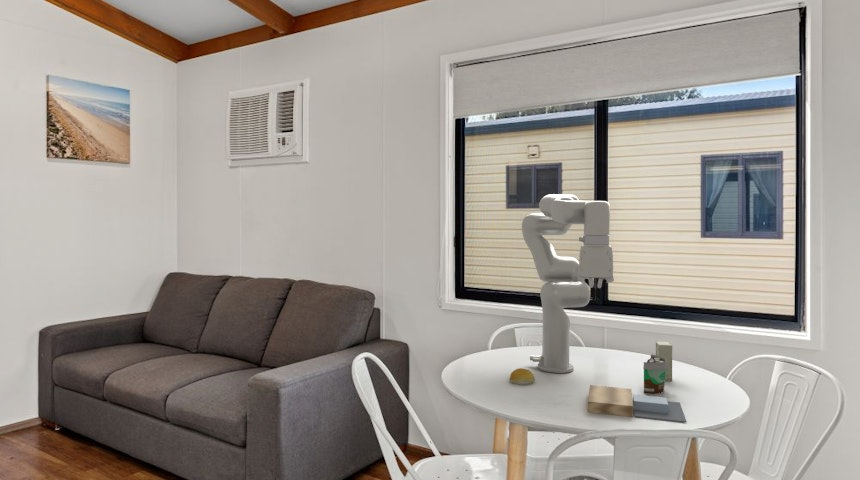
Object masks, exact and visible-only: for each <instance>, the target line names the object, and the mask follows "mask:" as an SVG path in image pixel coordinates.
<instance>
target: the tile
mask: <svg viewBox="0 0 860 480" xmlns="http://www.w3.org/2000/svg"><path fill="white" fill-rule="evenodd" d="M632 401H633V411H634V410H642V411H651V412H660V413H668V402H667V401H668V399H667V397H661V396H652V395H641V394H632Z"/></svg>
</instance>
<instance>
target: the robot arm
mask: <svg viewBox="0 0 860 480" xmlns="http://www.w3.org/2000/svg"><path fill="white" fill-rule="evenodd" d="M610 205H611V204H610V203H609V202H608V201H606V200H579V198H578V197H577V196H576V195H575V194H563V193H562V194H561V193H559V194H555V193H553V194H547V195H545V196H543V197H542V198H541V199H540V200H539V204H538V207H539V210H540V212H535V213H530V214H528V215H526V216H524V217H523V219H522V222H521V233H522V237H523V240H524V242H525V244H526V246H527V248H528V249H529V252H530V253H531V255H532V259H533V262H534V266H535V269H536V273H537V274H538V277H539V279H540V280H541V282H544V284H543V285H542V286H541V288H540V293H539V294H540V300H541V307H542V309H541V310H542V352H541V354H538V355H534V354H531V355H529V361H532V362H534V363H536V362H537V363H538V364H537V368H538V369H539V370H541V371H542V372H543V371H544V372H546V373H551V374H552V373H554V374H565V373H571V372H573V371H574V365H573V364H571V363H570V337H571V336H570V333H571V332H570V330H571V329H570V328H571V327H570V323H571V322H570V317H569V315H568V314H567V313H566V312H565V310H564V309H566V308H582V307H585V306H587V305H588V304H589V302H590V301H591V298H592V302H594V301H596V302H598V301H599V299H601V288H602V287H603V286H604V285H605V284H607V283H608V284H609V283H612V282H614V281H615V280H614V279H615V278H614V254H613V247H612V245H610V217H611V216H610V214H611V213H610V211H611V210H610V209H611V206H610ZM572 225H583V236H578V241H579V242H581V243H583V244H582V245H580V250H579V257H578V259H576V258H575V257H572V256H558V255H557V254H556V251H555V247H554V246H553V244H552V243H551V242H550V241H549V240H548V239H547V238H546V237H545V236H564V235H565V234H566V233H568V232H569V230H570V228H571V227H572ZM594 279H598V281H597V284H596V286H595V284H594Z"/></svg>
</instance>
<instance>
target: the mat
mask: <svg viewBox="0 0 860 480" xmlns="http://www.w3.org/2000/svg"><path fill="white" fill-rule="evenodd" d="M667 402H668V413H660V412H651V411H642V410H634V409H633V414H634V415H633V416H634V418H637V419H638V418H640V419H647V420H648V419H649V420H657V421H666V422H674V423H675V422H677V423H683V422H686V423H687V419H686V415H685V414H684V411H683V408H682V404H681V402H680V401H679V402H677V401H669V400H667Z"/></svg>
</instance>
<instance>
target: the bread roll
mask: <svg viewBox="0 0 860 480" xmlns="http://www.w3.org/2000/svg"><path fill="white" fill-rule="evenodd" d="M535 380H536V377H535V374H534V373H533V372H532V371H531V370H529V369H527V368H524V367H522V368H521V367H520V368H517V369H515V370H513V371H512V372H511V373H510V376H509V382H510V383H511V384H515V385H519V386H526V385H531V384H534V383H535Z"/></svg>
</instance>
